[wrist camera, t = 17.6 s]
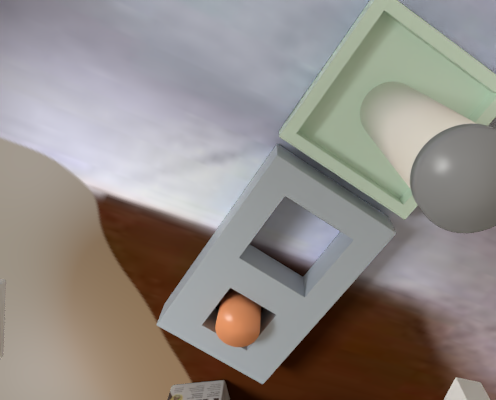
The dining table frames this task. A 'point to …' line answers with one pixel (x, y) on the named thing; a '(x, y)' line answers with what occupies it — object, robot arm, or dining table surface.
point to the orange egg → (238, 320)
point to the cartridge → (436, 155)
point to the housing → (275, 266)
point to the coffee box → (200, 391)
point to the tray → (371, 75)
